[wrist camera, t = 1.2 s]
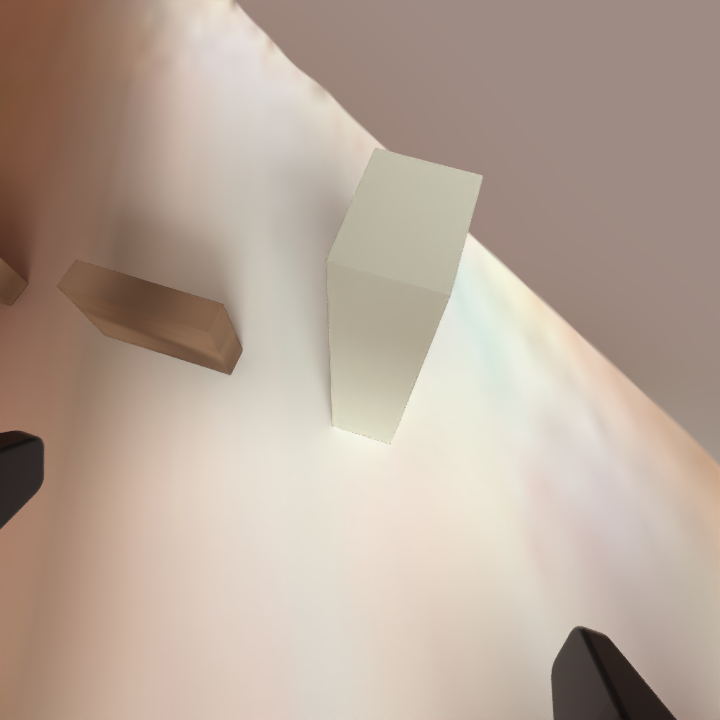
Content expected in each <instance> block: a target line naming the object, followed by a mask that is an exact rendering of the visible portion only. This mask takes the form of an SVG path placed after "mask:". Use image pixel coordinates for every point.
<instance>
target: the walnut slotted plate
mask: <svg viewBox="0 0 720 720" xmlns="http://www.w3.org/2000/svg"><path fill="white" fill-rule="evenodd" d="M27 284H28V283H27V282H26V281H25V280H24V279H23V278H22V277H21V276H19V275H18V274H17V273H16V272H15V271H14V270H13V269H12V268H11V267H10V266H9V265H8V264H7V263H6V262H5V261H4V260H3V259H1V258H0V302H2V303H5V304H8V305H12V303H13V302H14V301H15V300H16V298H17V297H18V296H19V295H20V293H21V292H22V291H23V289H24V288H25V287H26V286H27ZM57 287H58V288H59V289H60V290H61V291H62V292H63V293H64V294H65V295H66V296H67V297H68V298H69V299H70V300H71V301H72V302H73V303H74V304H75V305H76V306H77V307H78V308H79V309H80V310H81V311H82V312H83V313H84V314H85V315H86V317H87V318H88V319H89V320H90V321H91V322H92V323H93V324H94V325H95V326H96V327H97V328H98V329H99V330H100V331H101V332H102V333H103V334H104V335H106V336H109V337H112V338H115V339H119V340H122V341H125V342H128V343H131V344H134V345H137V346H141V347H144V348H147V349H150V350H153V351H156V352H159V353H163V354H166V355H169V356H172V357H175V358H178V359H182V360H185V361H188V362H191V363H194V364H197V365H200V366H204V367H207V368H210V369H213V370H216V371H219V372H222V373H226V374H229V375H231V373H232V371H233V369H234V367H235V365H236V363H237V361H238V359H239V357H240V355H241V353H242V351H243V350H242V347H241V345H240V343H239V340H238V338H237V336H236V333H235V331H234V329H233V326H232V324H231V321H230V319H229V317H228V314H227V312H226V310H225V307H224V305H223V304H221V303H218V302H214V301H211V300H208V299H204V298H201V297H198V296H194V295H191V294H188V293H184V292H181V291H178V290H175V289H171V288H168V287H165V286H161V285H158V284H155V283H151V282H148V281H145V280H141V279H138V278H135V277H132V276H128V275H125V274H122V273H118V272H115V271H112V270H108V269H105V268H102V267H99V266H95V265H92V264H89V263H85V262H82V261H79V260H76V261H75V262H74V263H73V265H72V266H71V267H70V269H69V270H68V271H67V273H66V274H65V275H64V277H63V278H62V279H61V281H60V282H59V283H58V285H57Z"/></svg>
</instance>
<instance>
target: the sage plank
mask: <svg viewBox="0 0 720 720" xmlns="http://www.w3.org/2000/svg"><path fill="white" fill-rule="evenodd" d="M482 178H483V176H482V175H478V174H474V173H471V172H467V171H463V170H459V169H455V168H451V167H447V166H444V165H439V164H436V163H432V162H428V161H424V160H420V159H417V158H412V157H409V156H405V155H401V154H397V153H393V152H390V151H386V150H382V149H378V148H375V149H374V152H373V154H372V156H371V159H370V161H369V163H368V165H367V168H366V170H365V172H364V175H363V177H362V179H361V181H360V184H359V186H358V188H357V190H356V193H355V195H354V197H353V200H352V202H351V204H350V206H349V209H348V211H347V213H346V216H345V218H344V220H343V222H342V225H341V227H340V229H339V232H338V234H337V236H336V238H335V241H334V243H333V245H332V248H331V250H330V252H329V254H328V257H327V259H326V271H327V297H328V324H329V350H330V376H331V403H332V426H335V427H338V428H341V429H344V430H347V431H350V432H353V433H356V434H360V435H363V436H366V437H369V438H372V439H375V440H378V441H381V442H384V443H388V444H391V442H392V440H393V437H394V435H395V432H396V430H397V427H398V425H399V422H400V420H401V417H402V415H403V412H404V410H405V407H406V405H407V402H408V400H409V397H410V395H411V392H412V390H413V387H414V385H415V382H416V380H417V377H418V375H419V372H420V370H421V368H422V365H423V363H424V360H425V358H426V355H427V353H428V350H429V348H430V345H431V343H432V340H433V338H434V335H435V333H436V330H437V328H438V325H439V323H440V320H441V318H442V315H443V313H444V310H445V308H446V305H447V303H448V300H449V298H450V295H451V291H452V288H453V284H454V280H455V277H456V273H457V270H458V266H459V262H460V259H461V255H462V251H463V248H464V244H465V240H466V237H467V233H468V229H469V226H470V222H471V218H472V215H473V211H474V207H475V204H476V200H477V196H478V193H479V189H480V186H481V182H482Z"/></svg>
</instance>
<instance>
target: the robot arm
mask: <svg viewBox="0 0 720 720" xmlns="http://www.w3.org/2000/svg"><path fill="white" fill-rule="evenodd" d="M43 480H44V443H43V441H42V439H41V438H39V437H37V436H34V435H32V434H29V433H26V432H23V431H9V432H3V433H0V529H1V528H2V527H3V526H4V525H5V524H6V523H7V522H8V521H9V520H10V519H11V518H12V517H13V516H14V515H15V514H16V513H17V512H18V511H19V510H20V509H21V508H22V507H23V506H24V505H25V504H26V503H27V502H28V501H29V500H30V499H31V498H32V497H33V496H34V495H35V494H36V493H37V491H38V490H39V489H40V487H41V485H42V483H43ZM551 683H552V701H553V718H554V720H677V719H676V718H675V717H674V716H673V715H672V713H671V712H670V711H669V710H668V709H667V707H666V706H665V705H664V704H663V703H662V701H661V700H660V699H659V698H658V696H657V695H656V694H655V693H654V692H653V690H652V689H651V688H650V687H649V686H648V684H647V683H646V682H645V681H644V680H643V678H642V677H641V676H640V675H639V674H638V672H637V671H636V670H635V669H634V668H633V666H632V665H631V664H630V663H629V661H628V660H627V659H626V658H625V657H624V655H623V654H622V653H621V652H620V651H619V649H618V648H617V647H616V646H615V645H614V643H613V642H612V641H611V640H610V639H609V638H608V637H607V636H606V635H604V634H603V633H600V632H597V631H594V630H592V629H589V628H586V627H583V626H577V627H575V628H573V630H572V631H571V632H570V634H569V636H568V638H567V639H566V641H565V643H564V645H563V646H562V648H561V650H560V652H559V653H558V655H557V657H556V659H555V661H554V663H553V667H552V674H551Z"/></svg>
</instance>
